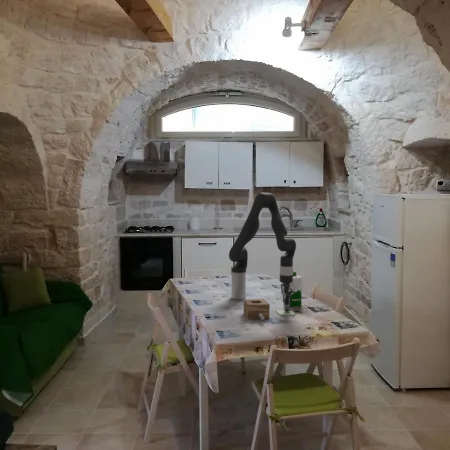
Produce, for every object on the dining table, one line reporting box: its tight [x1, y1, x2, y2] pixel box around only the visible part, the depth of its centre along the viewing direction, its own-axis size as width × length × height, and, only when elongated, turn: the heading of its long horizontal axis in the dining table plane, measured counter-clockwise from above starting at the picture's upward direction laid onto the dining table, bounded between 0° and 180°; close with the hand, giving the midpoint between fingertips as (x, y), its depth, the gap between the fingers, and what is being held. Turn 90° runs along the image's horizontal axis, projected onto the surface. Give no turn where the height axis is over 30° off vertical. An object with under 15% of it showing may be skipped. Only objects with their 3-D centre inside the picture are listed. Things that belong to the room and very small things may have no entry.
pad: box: [275, 309, 296, 317], centre depth 266 cm, size 9×9×1 cm
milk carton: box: [290, 271, 304, 308], centre depth 282 cm, size 9×9×20 cm
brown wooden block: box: [242, 298, 270, 321], centre depth 255 cm, size 21×12×8 cm, turn 9°
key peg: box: [282, 288, 291, 312], centre depth 265 cm, size 5×5×13 cm
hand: (285, 303), depth 265 cm, fingers closed on key peg, 3 cm apart
